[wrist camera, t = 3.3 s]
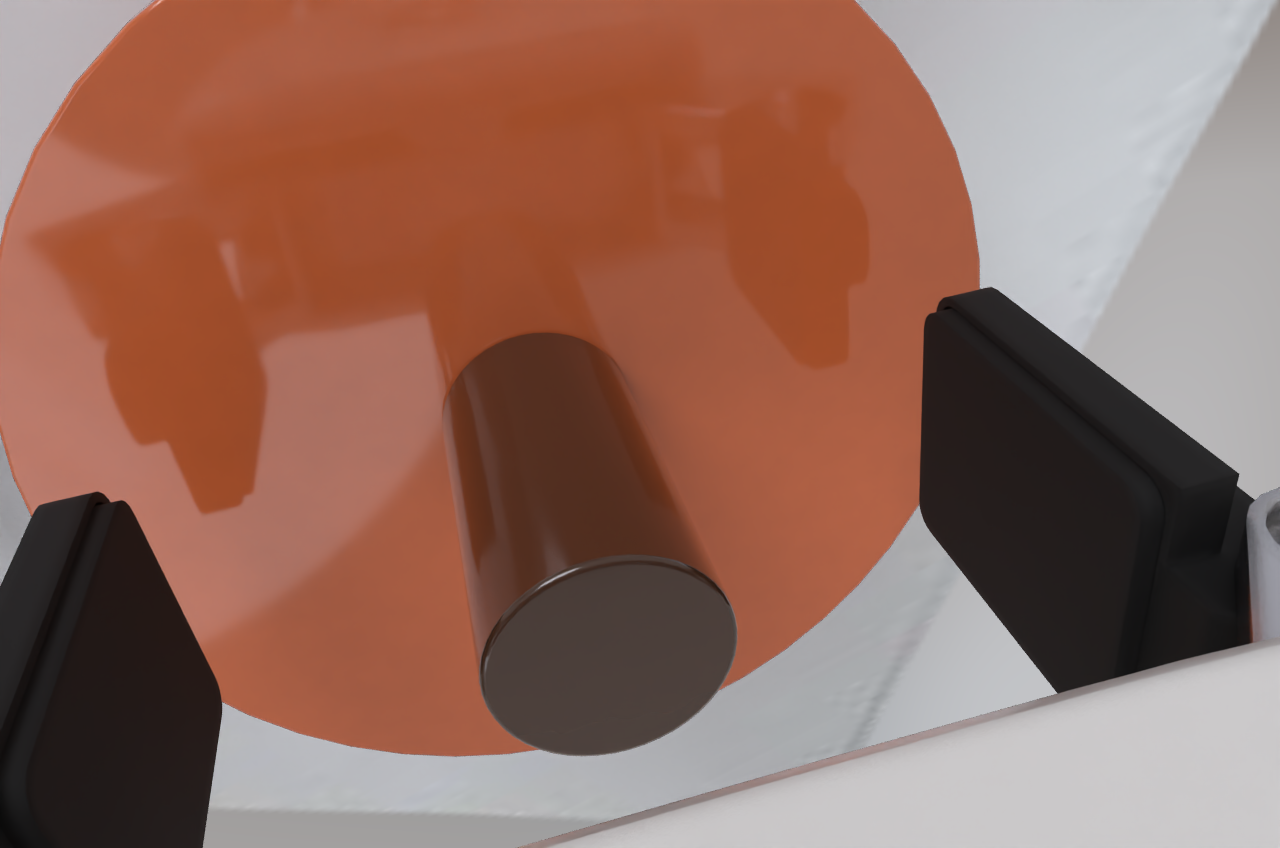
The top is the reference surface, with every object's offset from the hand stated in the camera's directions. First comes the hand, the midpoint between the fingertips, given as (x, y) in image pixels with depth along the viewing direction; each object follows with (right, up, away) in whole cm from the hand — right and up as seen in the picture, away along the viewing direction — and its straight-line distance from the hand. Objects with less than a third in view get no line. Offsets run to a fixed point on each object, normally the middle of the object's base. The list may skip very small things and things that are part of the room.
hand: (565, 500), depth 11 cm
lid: (-1, +1, +2) cm, 2 cm away
